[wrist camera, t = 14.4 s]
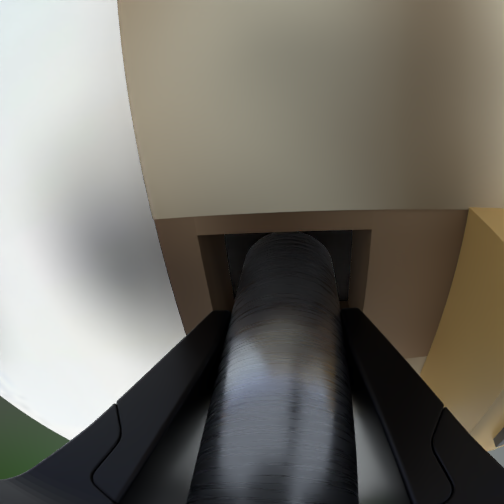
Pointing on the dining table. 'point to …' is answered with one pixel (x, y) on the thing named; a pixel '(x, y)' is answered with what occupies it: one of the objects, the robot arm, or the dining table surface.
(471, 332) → the block
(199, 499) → the peg
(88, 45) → the dining table surface
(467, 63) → the subfloor board
